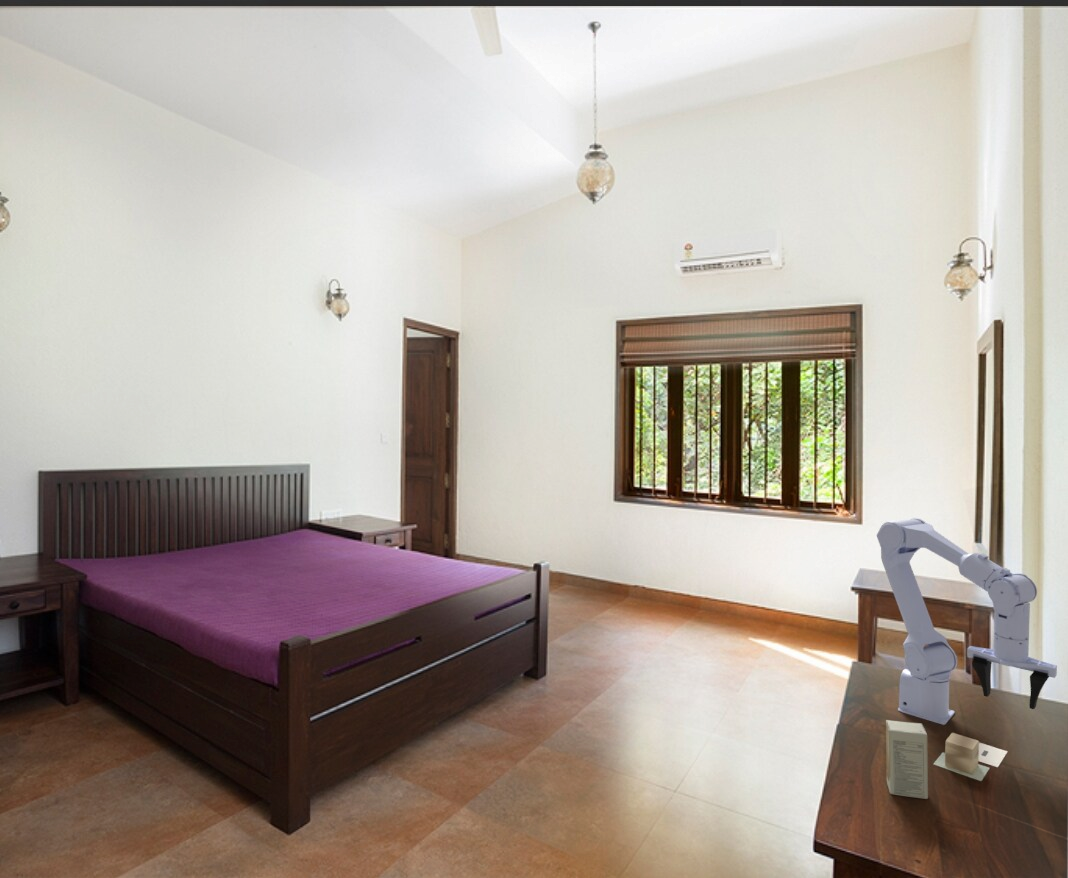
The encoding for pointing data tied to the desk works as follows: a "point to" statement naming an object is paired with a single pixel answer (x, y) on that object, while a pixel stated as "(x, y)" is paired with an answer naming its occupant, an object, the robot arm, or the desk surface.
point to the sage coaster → (977, 774)
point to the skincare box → (906, 759)
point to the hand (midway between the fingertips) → (1009, 700)
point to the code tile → (990, 755)
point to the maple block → (961, 753)
